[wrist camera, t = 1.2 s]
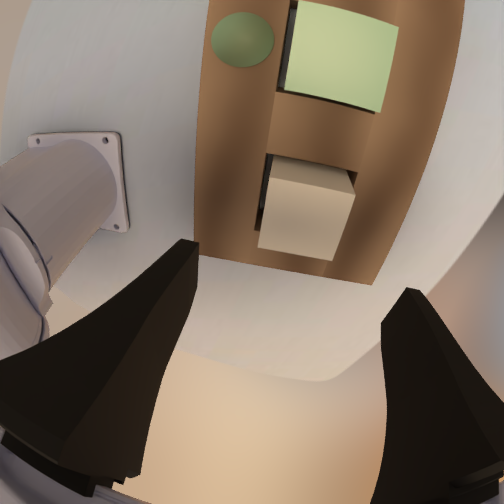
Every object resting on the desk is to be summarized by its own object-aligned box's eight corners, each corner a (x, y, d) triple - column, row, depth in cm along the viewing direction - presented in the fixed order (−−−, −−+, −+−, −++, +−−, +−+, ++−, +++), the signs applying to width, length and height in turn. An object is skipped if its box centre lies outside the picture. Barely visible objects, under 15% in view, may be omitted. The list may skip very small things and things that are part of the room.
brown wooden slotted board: (203, 231, 21) (192, 256, 18) (247, -121, 4) (239, -141, 2) (366, 261, 20) (372, 288, 18) (446, -72, 4) (466, -83, 2)
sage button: (285, 83, 12) (284, 89, 10) (297, 11, 10) (298, -1, 7) (363, 101, 12) (380, 113, 10) (378, 31, 10) (398, 27, 7)
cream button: (263, 217, 17) (257, 247, 15) (274, 155, 15) (269, 177, 13) (327, 229, 17) (331, 260, 15) (346, 170, 15) (355, 195, 12)
